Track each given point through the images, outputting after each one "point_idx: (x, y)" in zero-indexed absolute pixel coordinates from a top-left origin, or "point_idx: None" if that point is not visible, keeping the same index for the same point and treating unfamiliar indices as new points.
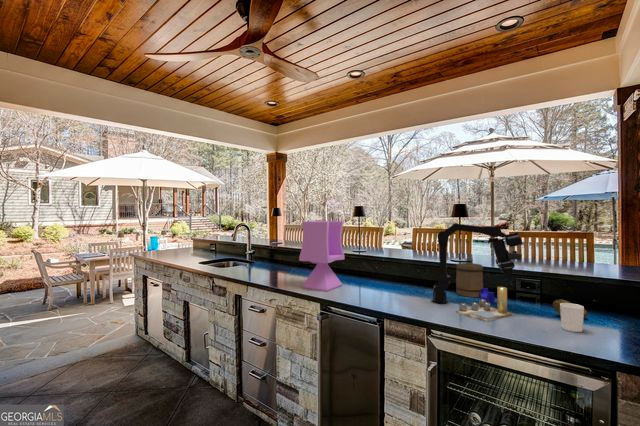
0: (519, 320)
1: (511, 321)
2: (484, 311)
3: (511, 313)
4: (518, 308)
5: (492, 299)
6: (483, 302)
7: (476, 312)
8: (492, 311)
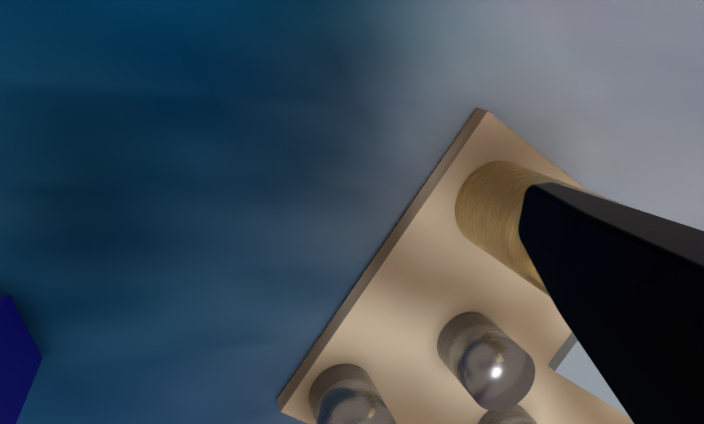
0: (621, 57)
1: (666, 128)
2: (569, 353)
3: (496, 119)
4: (121, 6)
5: (6, 342)
6: (493, 410)
7: (618, 403)
8: (497, 290)
